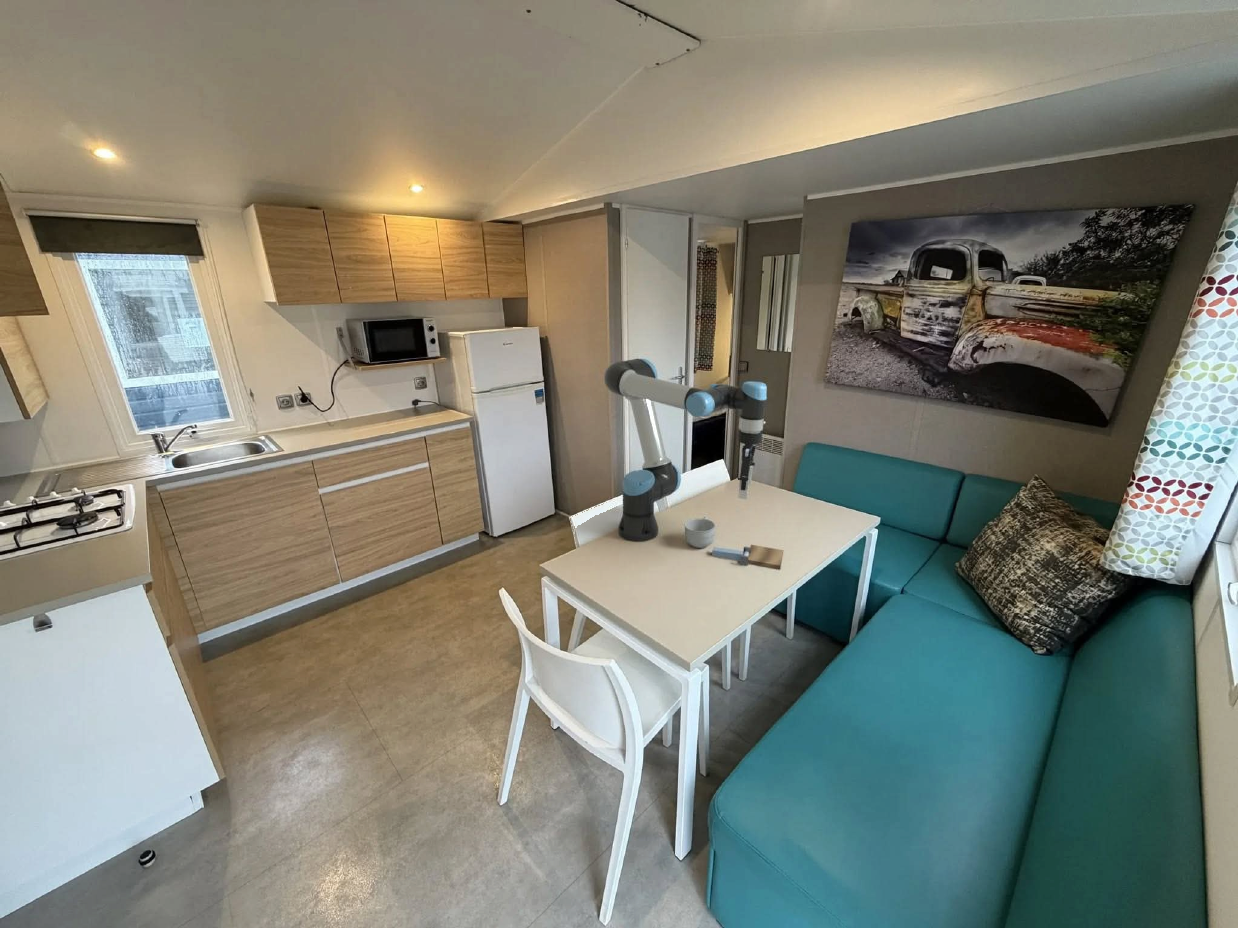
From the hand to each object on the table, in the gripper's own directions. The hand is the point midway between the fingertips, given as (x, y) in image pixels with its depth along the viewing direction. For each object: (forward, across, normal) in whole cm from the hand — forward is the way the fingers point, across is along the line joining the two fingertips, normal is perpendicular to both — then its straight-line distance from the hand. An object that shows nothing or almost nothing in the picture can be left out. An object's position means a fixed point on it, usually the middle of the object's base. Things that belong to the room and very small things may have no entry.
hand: (744, 490), depth 163 cm
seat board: (+22, -4, -9) cm, 24 cm away
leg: (+23, -7, +2) cm, 24 cm away
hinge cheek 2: (+22, -10, -3) cm, 25 cm away
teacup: (+23, +1, +14) cm, 27 cm away
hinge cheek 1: (+22, -4, -3) cm, 23 cm away
